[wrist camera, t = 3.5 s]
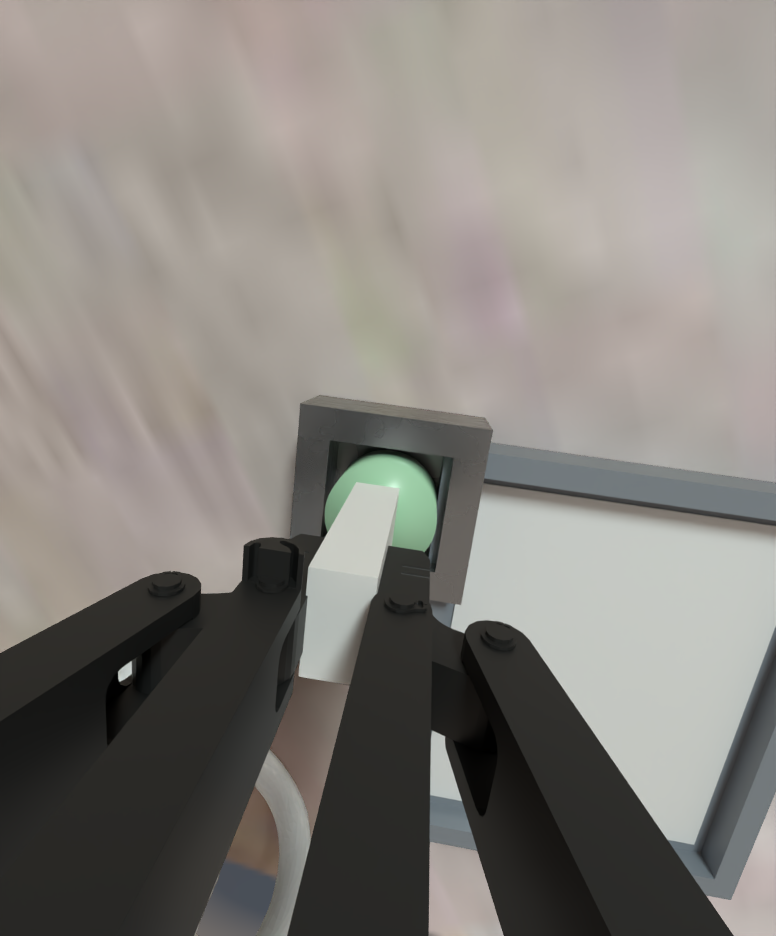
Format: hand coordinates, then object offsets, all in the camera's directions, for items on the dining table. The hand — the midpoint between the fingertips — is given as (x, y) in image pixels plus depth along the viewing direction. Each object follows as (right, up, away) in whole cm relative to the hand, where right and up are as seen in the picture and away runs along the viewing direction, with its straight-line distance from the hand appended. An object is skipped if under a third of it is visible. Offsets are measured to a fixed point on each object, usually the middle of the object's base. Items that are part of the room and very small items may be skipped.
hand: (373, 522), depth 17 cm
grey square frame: (+1, +1, +5) cm, 5 cm away
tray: (+10, -7, +6) cm, 13 cm away
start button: (0, +1, +3) cm, 3 cm away
